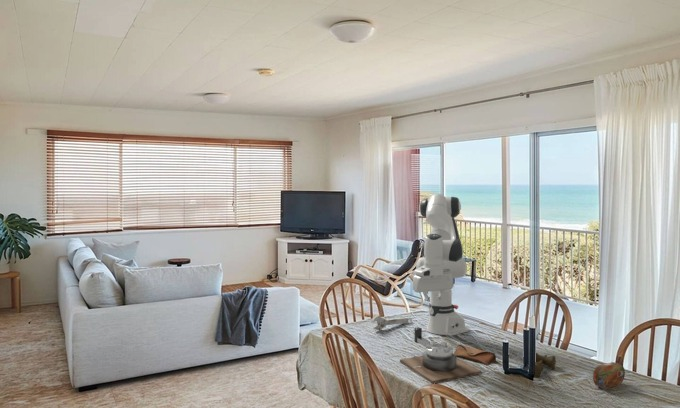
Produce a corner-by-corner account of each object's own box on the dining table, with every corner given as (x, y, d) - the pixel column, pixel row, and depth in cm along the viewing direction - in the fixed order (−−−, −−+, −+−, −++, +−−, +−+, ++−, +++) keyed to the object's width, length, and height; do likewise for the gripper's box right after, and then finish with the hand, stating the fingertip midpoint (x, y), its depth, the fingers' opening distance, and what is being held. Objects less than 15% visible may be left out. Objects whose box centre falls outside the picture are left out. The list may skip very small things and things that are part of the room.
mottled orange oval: (598, 390, 178) (599, 368, 177) (590, 387, 181) (591, 365, 180) (625, 383, 184) (626, 362, 183) (617, 380, 187) (618, 359, 186)
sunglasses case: (449, 355, 212) (453, 341, 215) (455, 359, 217) (459, 345, 220) (489, 365, 201) (492, 350, 204) (494, 369, 206) (497, 354, 209)
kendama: (521, 375, 193) (534, 359, 209) (546, 381, 188) (558, 364, 204) (522, 361, 193) (535, 345, 209) (547, 367, 187) (558, 351, 203)
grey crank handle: (458, 357, 196) (458, 341, 196) (436, 361, 192) (436, 345, 192) (426, 340, 218) (426, 326, 217) (405, 343, 213) (405, 329, 213)
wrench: (411, 327, 263) (372, 332, 244) (408, 326, 265) (370, 331, 245) (412, 313, 263) (373, 316, 244) (410, 312, 265) (371, 315, 246)
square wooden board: (445, 353, 215) (445, 342, 215) (481, 373, 194) (481, 361, 193) (399, 361, 205) (399, 350, 205) (432, 383, 184) (432, 370, 183)
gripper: (447, 267, 223) (447, 296, 223) (410, 270, 214) (410, 300, 215) (456, 269, 217) (456, 299, 218) (418, 273, 208) (418, 304, 209)
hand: (433, 300), depth 216 cm, fingers open, 5 cm apart
